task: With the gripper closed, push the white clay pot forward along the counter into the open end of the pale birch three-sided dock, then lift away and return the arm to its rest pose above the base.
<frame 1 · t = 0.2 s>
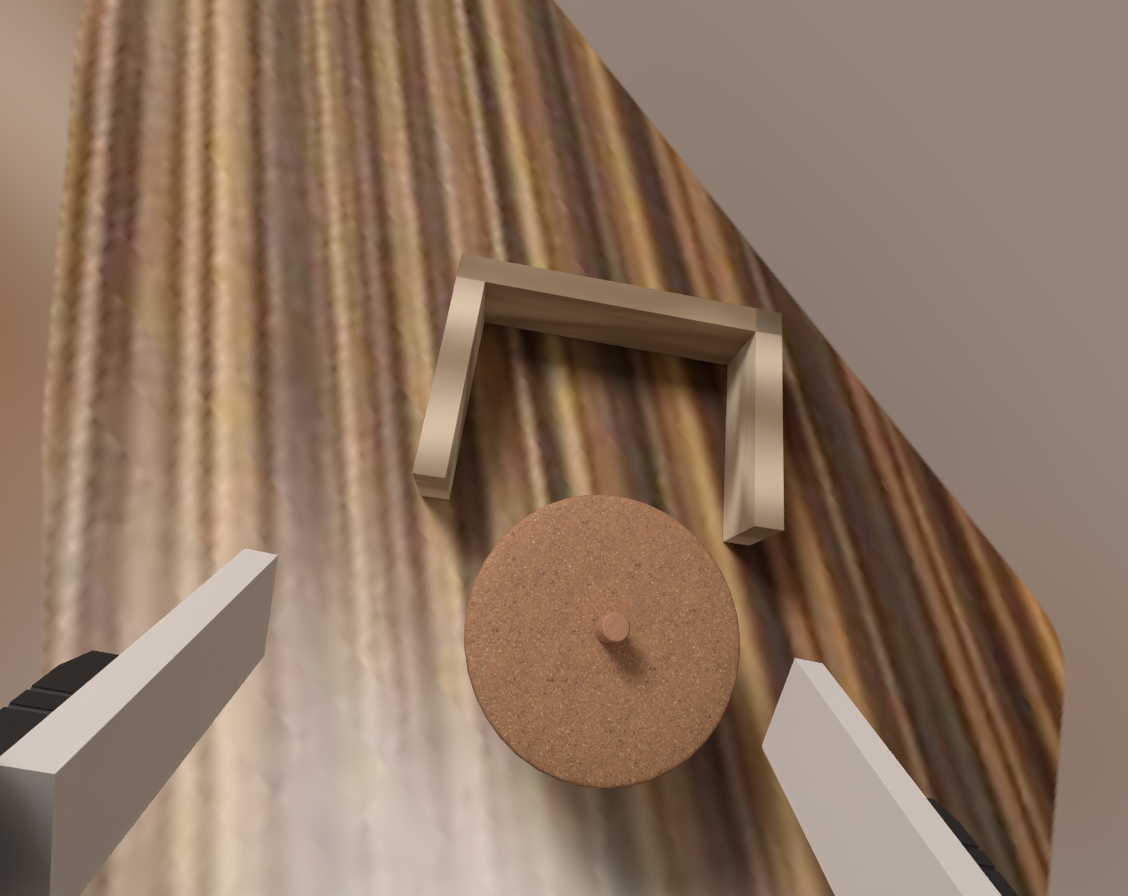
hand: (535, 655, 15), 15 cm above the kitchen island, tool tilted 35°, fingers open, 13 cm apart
birch dock: (599, 419, 34), on the kitchen island
lidded jar: (575, 637, 30), on the kitchen island
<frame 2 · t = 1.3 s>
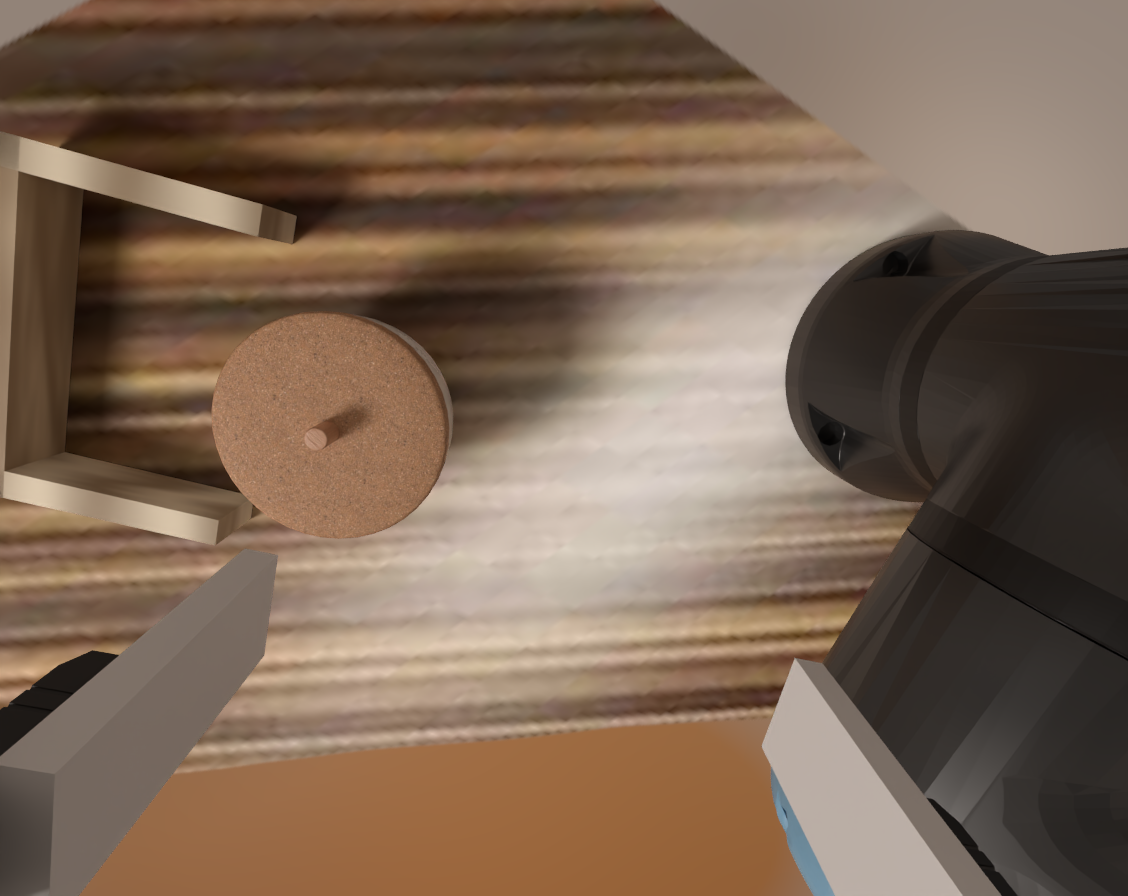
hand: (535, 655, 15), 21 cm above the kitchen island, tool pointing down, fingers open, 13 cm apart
birch dock: (165, 349, 33), on the kitchen island
lidded jar: (377, 402, 35), on the kitchen island
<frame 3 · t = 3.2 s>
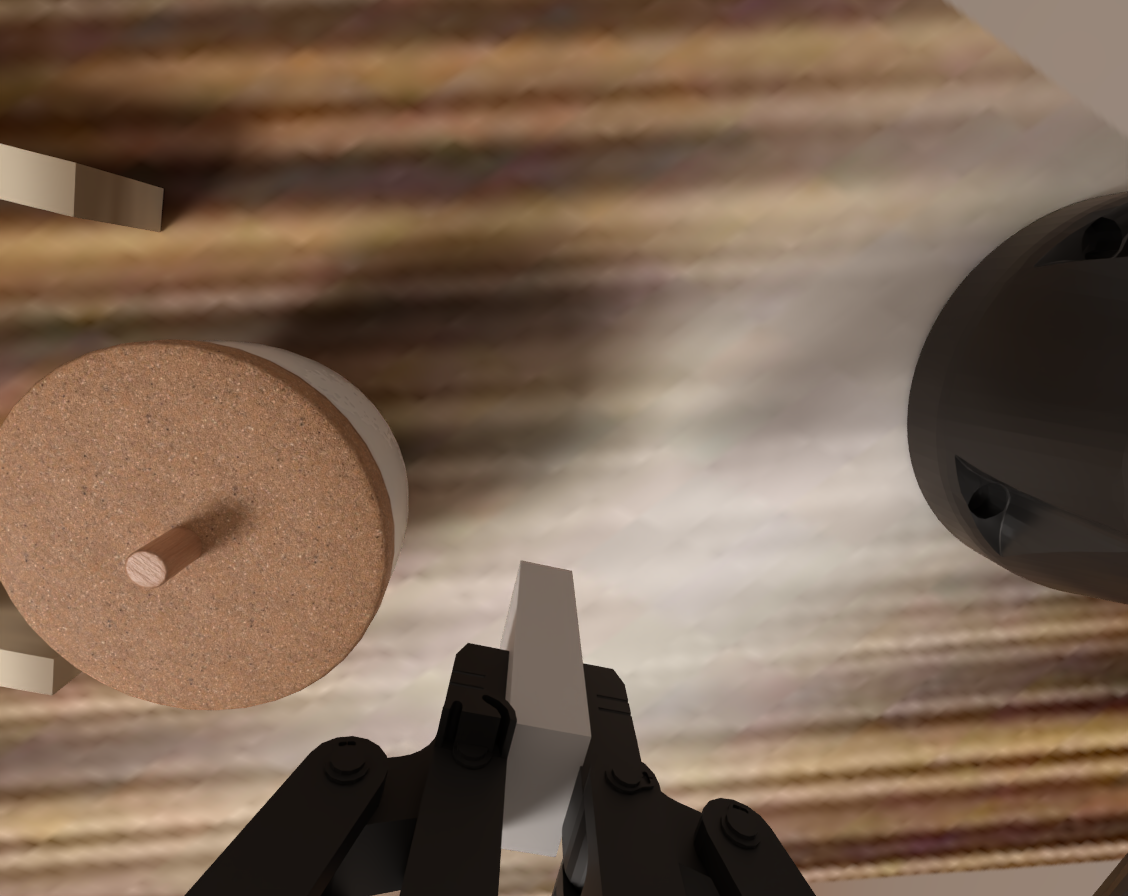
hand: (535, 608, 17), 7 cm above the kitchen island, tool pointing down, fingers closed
lidded jar: (303, 463, 24), on the kitchen island
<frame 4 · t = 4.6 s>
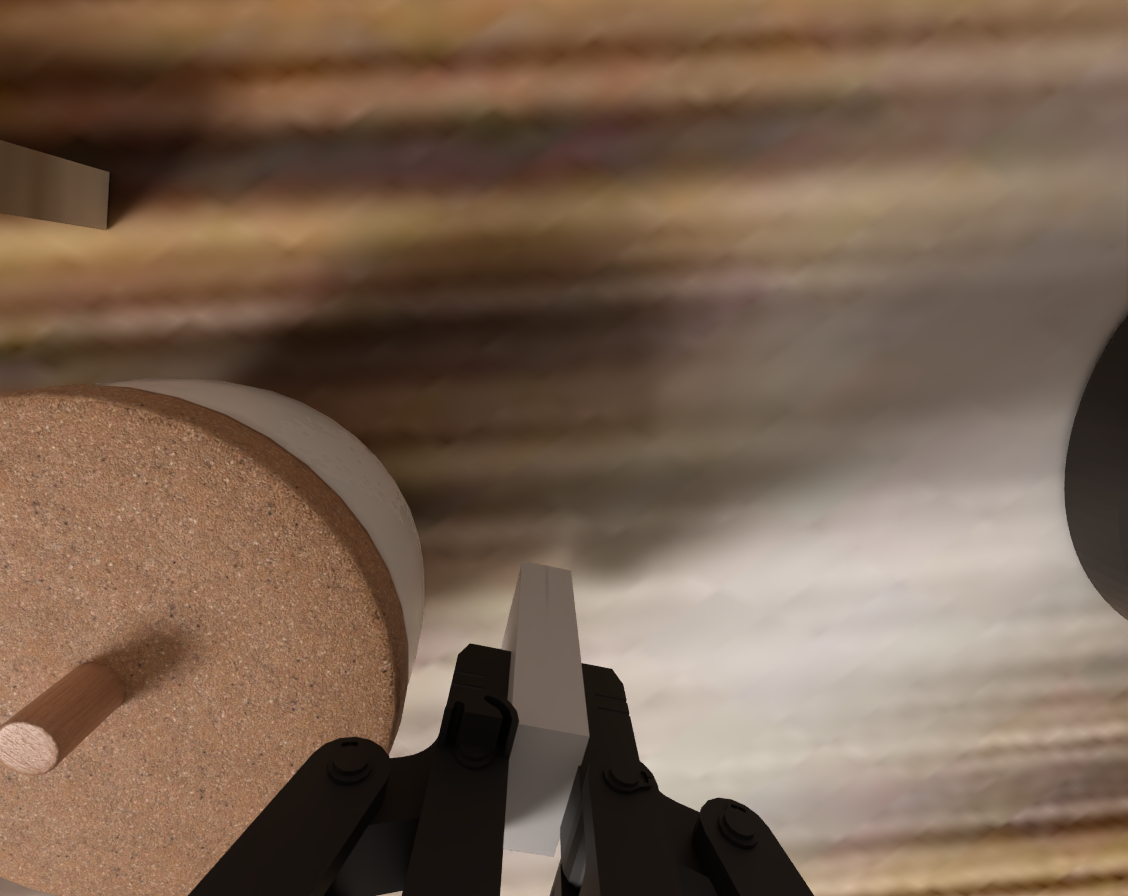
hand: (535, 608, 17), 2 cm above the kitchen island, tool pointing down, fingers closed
lidded jar: (287, 523, 18), on the kitchen island, touching gripper
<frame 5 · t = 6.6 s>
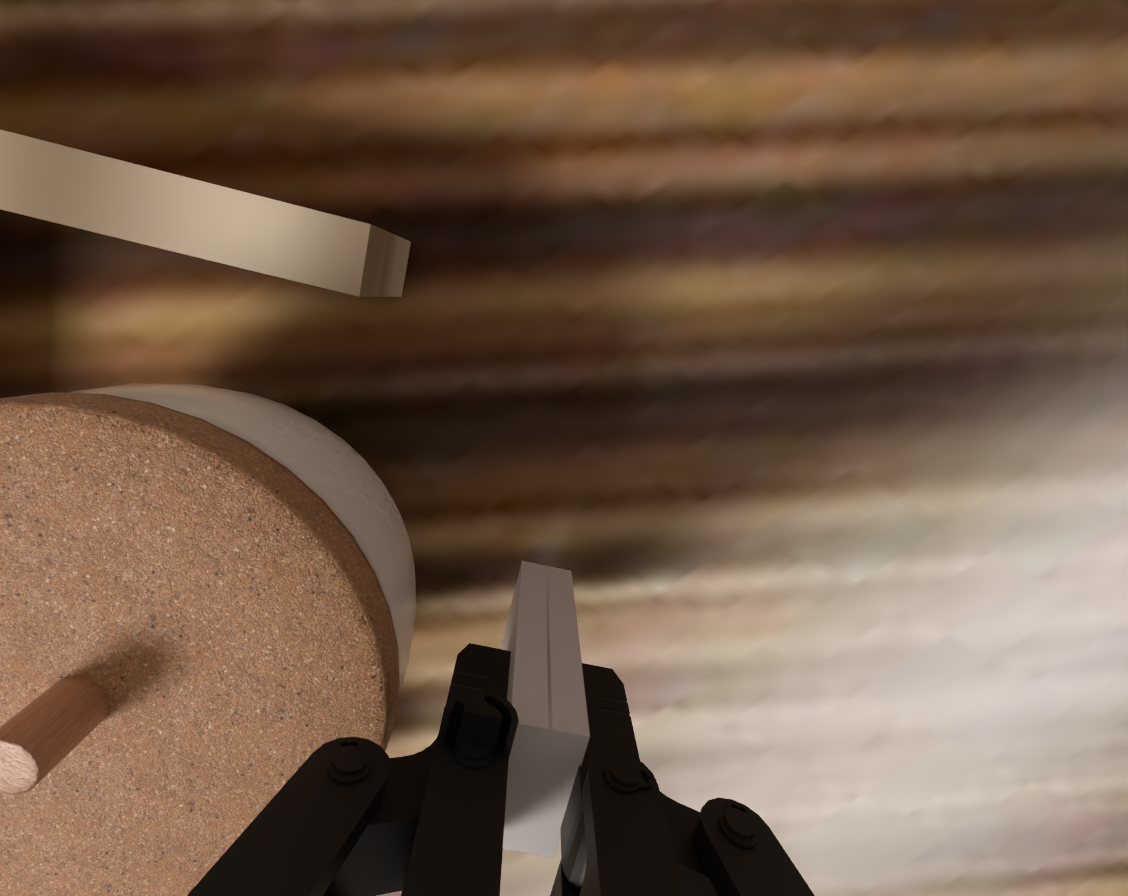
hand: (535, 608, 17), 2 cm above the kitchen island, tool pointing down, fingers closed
birch dock: (157, 499, 18), on the kitchen island
lidded jar: (276, 528, 18), on the kitchen island, touching gripper
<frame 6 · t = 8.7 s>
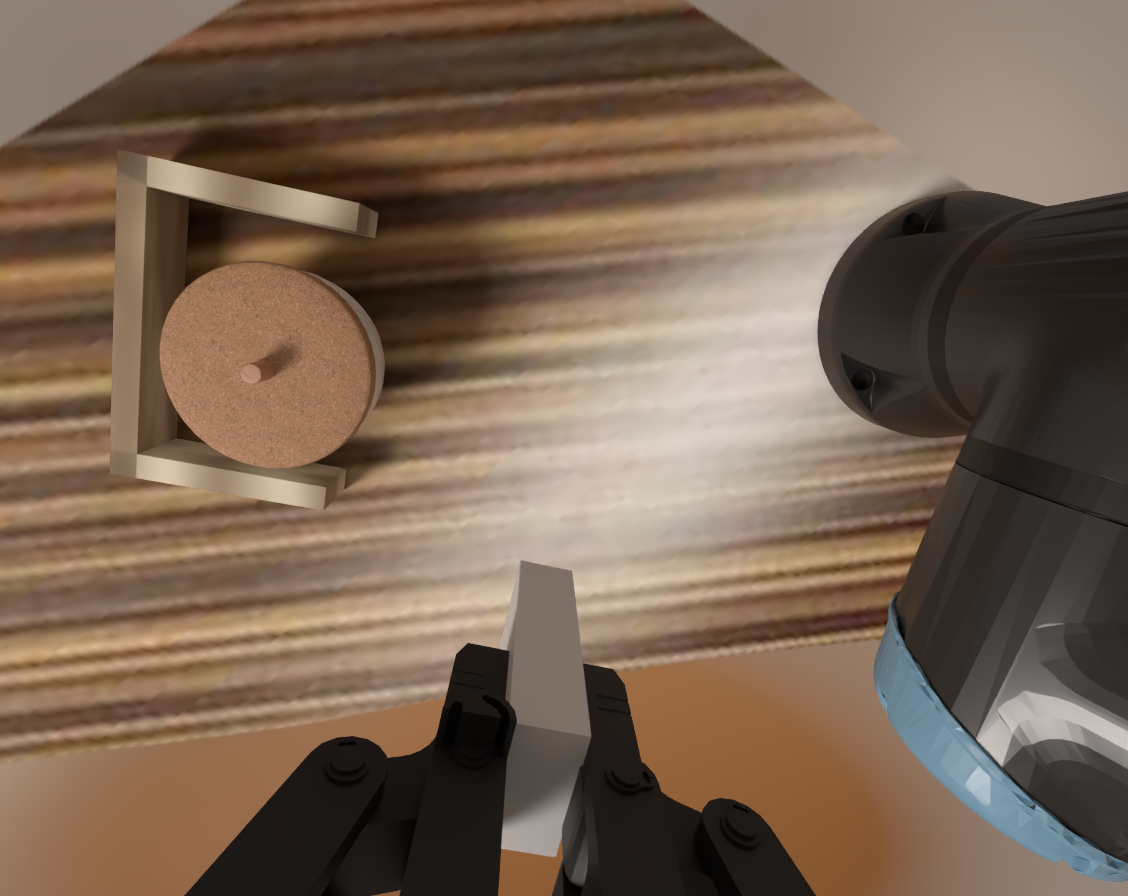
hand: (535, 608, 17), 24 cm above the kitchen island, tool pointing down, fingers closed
birch dock: (264, 340, 37), on the kitchen island
lidded jar: (320, 354, 38), on the kitchen island
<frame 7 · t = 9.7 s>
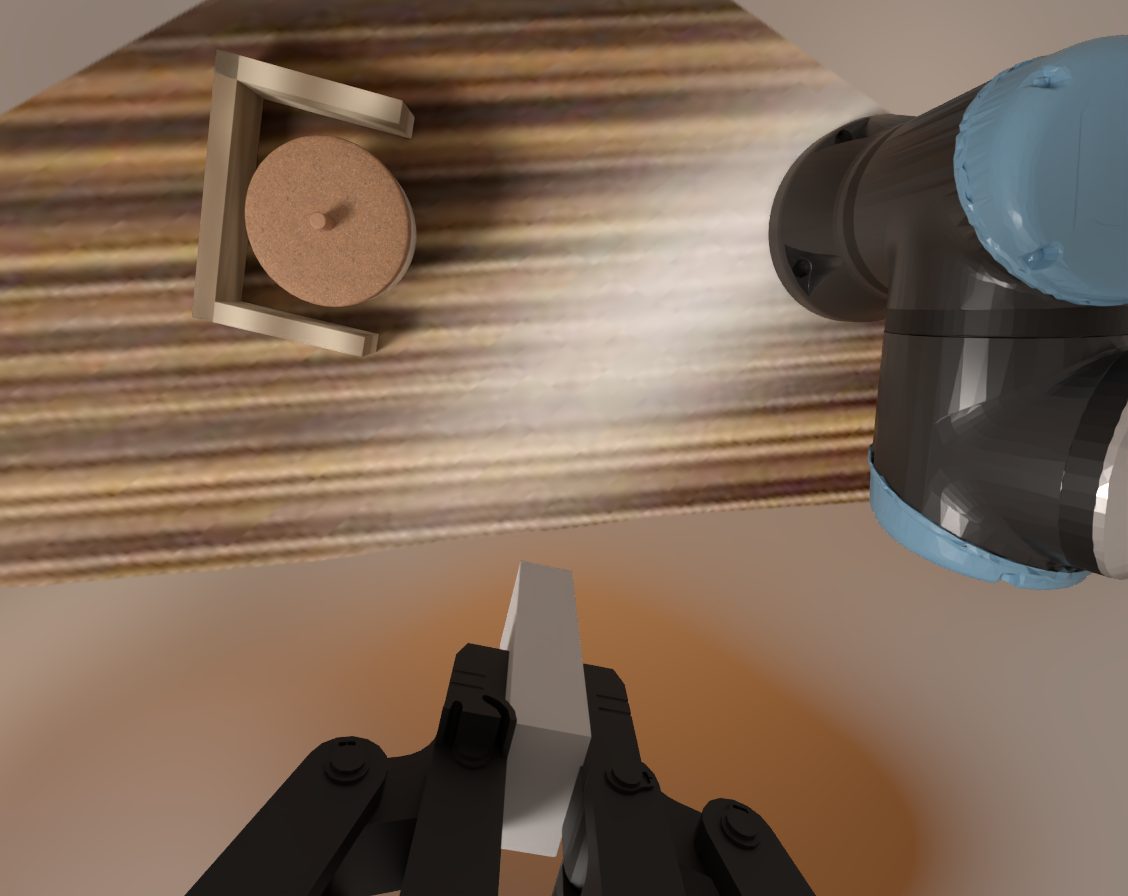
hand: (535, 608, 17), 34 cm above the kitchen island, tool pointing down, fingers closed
birch dock: (317, 220, 46), on the kitchen island
lidded jar: (361, 235, 47), on the kitchen island
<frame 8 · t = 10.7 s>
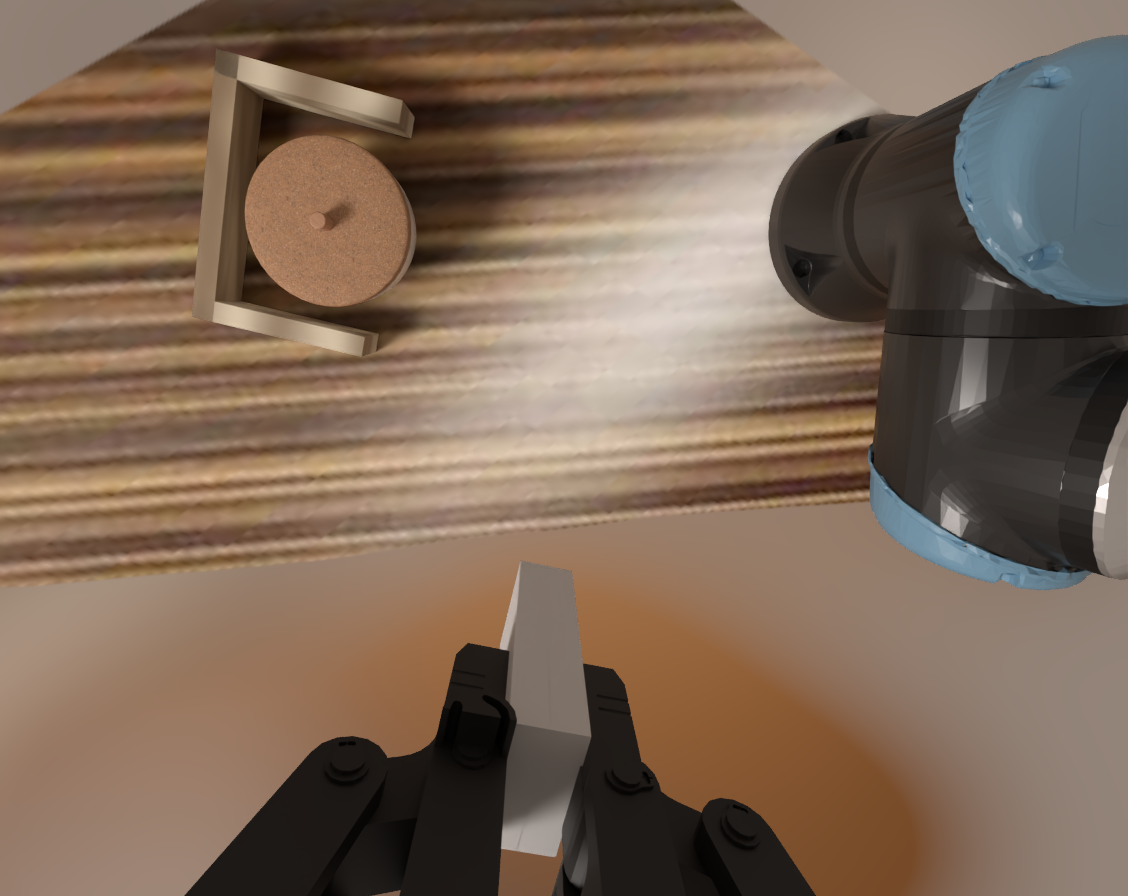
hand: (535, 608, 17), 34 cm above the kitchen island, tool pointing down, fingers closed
birch dock: (317, 220, 46), on the kitchen island
lidded jar: (361, 235, 47), on the kitchen island
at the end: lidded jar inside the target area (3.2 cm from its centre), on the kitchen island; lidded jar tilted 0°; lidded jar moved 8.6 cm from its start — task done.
